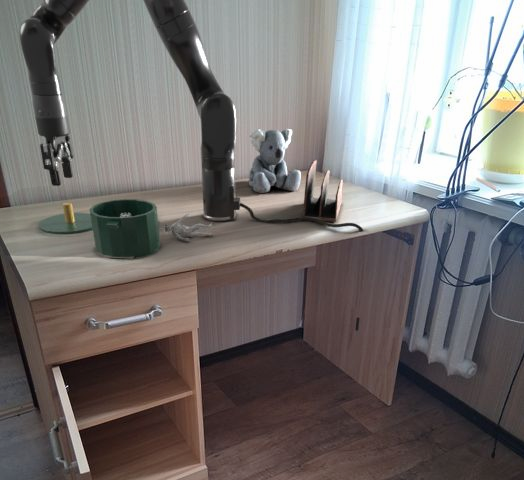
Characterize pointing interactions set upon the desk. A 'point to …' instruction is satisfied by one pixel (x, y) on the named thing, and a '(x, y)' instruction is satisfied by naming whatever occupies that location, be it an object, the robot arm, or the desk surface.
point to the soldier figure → (186, 229)
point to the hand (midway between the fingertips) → (62, 181)
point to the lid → (66, 222)
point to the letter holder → (321, 198)
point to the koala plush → (272, 162)
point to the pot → (125, 228)
